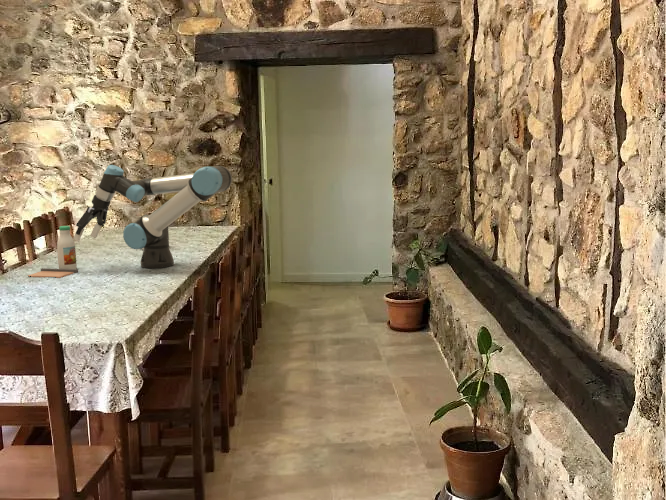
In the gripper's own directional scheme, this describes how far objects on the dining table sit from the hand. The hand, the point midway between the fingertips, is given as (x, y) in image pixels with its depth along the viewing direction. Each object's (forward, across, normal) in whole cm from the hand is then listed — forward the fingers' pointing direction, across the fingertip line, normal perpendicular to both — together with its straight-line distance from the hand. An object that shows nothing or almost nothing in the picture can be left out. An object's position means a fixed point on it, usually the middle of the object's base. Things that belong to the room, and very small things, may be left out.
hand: (84, 238), depth 310 cm
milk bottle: (+17, +1, -1) cm, 17 cm away
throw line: (+17, +8, 0) cm, 18 cm away
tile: (+17, +14, 0) cm, 22 cm away
